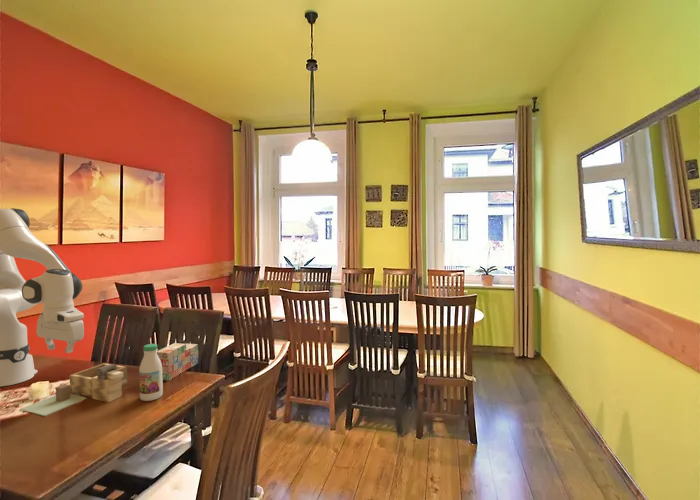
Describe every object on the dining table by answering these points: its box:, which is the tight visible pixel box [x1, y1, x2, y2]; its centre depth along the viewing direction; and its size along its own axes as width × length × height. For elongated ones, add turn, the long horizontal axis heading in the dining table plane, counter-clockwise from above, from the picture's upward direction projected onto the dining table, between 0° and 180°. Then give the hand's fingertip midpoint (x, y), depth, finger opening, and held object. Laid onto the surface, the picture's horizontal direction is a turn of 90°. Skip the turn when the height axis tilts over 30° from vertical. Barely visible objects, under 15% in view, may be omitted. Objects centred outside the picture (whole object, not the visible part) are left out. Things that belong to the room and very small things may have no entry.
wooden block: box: [105, 370, 123, 380], centre depth 138 cm, size 9×3×2 cm, turn 71°
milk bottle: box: [138, 343, 164, 402], centre depth 139 cm, size 8×8×20 cm
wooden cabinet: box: [69, 362, 128, 403], centre depth 145 cm, size 22×15×12 cm
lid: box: [19, 384, 88, 417], centre depth 133 cm, size 13×14×6 cm
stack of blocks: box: [157, 342, 199, 382], centre depth 165 cm, size 21×6×12 cm, turn 169°
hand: (60, 350), depth 135 cm, fingers open, 8 cm apart
